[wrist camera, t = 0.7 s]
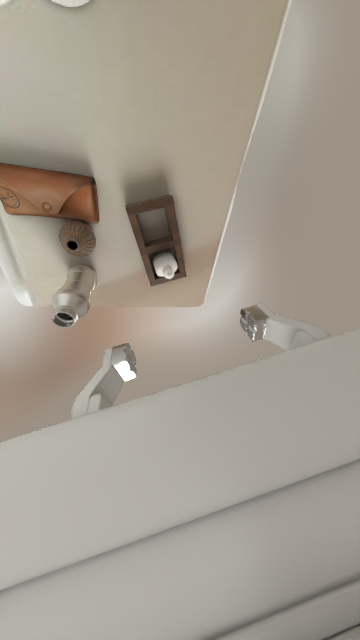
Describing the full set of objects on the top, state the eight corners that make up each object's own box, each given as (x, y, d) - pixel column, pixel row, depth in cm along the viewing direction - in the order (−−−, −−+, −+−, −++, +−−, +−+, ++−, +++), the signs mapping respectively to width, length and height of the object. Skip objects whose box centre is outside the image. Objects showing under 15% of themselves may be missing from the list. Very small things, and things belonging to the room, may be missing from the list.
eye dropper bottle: (170, 267, 51) (180, 286, 42) (151, 265, 49) (156, 284, 40) (173, 252, 48) (184, 268, 39) (153, 249, 47) (159, 265, 37)
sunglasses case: (6, 216, 36) (-22, 198, 29) (1, 179, 35) (-29, 152, 29) (101, 224, 40) (95, 209, 34) (99, 191, 39) (92, 169, 33)
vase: (96, 221, 40) (90, 229, 33) (98, 252, 44) (93, 264, 37) (61, 215, 38) (47, 222, 31) (67, 248, 42) (55, 260, 35)
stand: (125, 205, 40) (125, 207, 37) (169, 194, 40) (172, 195, 37) (149, 280, 52) (151, 286, 49) (183, 270, 52) (186, 276, 49)
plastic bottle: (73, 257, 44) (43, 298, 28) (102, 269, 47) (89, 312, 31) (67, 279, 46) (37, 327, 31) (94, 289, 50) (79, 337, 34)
